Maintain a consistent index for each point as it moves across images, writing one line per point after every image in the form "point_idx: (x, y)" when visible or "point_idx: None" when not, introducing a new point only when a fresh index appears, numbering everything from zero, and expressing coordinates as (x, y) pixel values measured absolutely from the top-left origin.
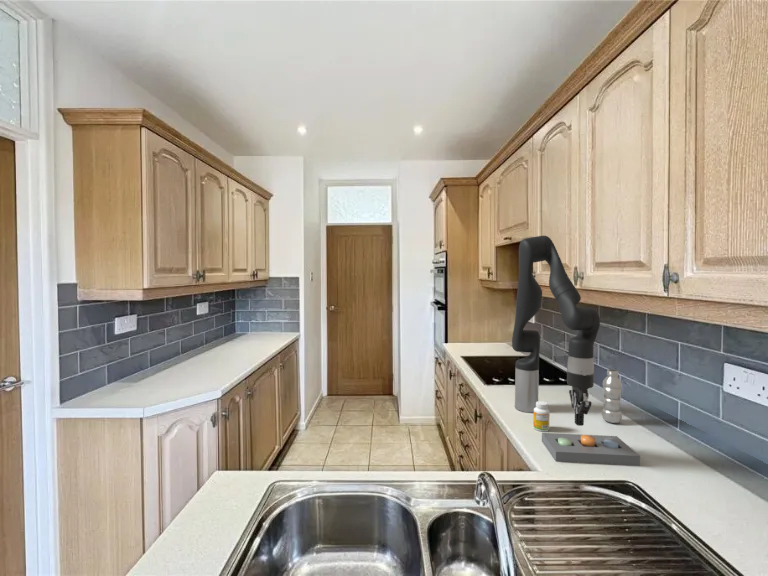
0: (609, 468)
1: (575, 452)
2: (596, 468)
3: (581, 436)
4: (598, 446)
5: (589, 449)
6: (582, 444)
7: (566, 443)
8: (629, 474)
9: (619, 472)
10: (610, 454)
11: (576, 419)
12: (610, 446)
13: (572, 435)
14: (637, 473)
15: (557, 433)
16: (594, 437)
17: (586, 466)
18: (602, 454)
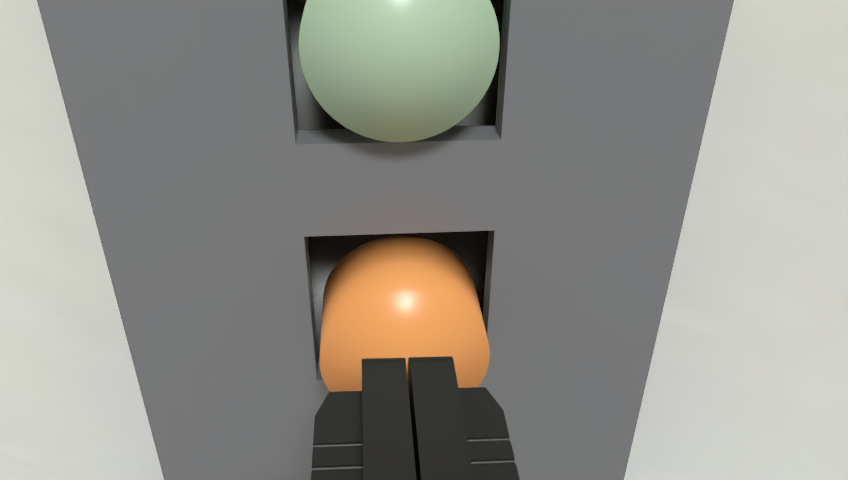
0: (78, 321)
1: (68, 80)
2: (29, 212)
3: (426, 300)
4: None
5: (226, 277)
6: (371, 247)
7: (300, 40)
8: (16, 423)
9: (23, 369)
10: (151, 424)
11: (361, 437)
12: None
13: (638, 218)
14: (62, 475)
15: (724, 37)
16: (574, 414)
17: (39, 128)
18: (134, 359)
